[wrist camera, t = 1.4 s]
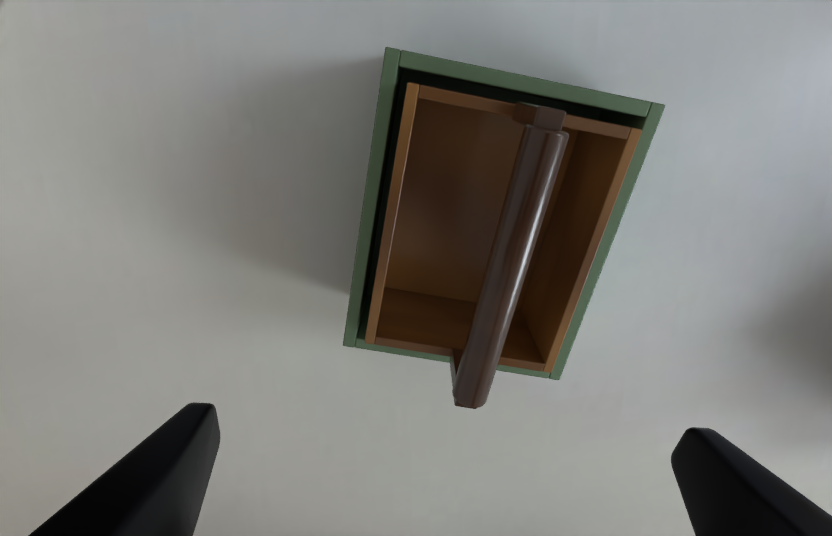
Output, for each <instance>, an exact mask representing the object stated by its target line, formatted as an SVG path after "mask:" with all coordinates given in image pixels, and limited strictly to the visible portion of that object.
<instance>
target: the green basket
mask: <svg viewBox="0 0 832 536" xmlns="http://www.w3.org/2000/svg"><path fill="white" fill-rule="evenodd" d="M408 82H415V83H420V84H425V85H430V86H435V87H440V88H445V89H449V90H454V91H459V92H464V93H469V94H474V95H479V96H484V97H489V98H494V99H499V100H504V101H508V102H513V103H517V102H518V101H520V102H525V103H530V104H535V105H540V106H545V107H549V108H554V109H559V110H564V111H566V113H567V114H572V115H577V116H582V117H587V118H592V119H596V120H601V121H605V122H610V123H614V124H619V125H623V126H628V127H632V128H637V129H641V130H642V133H641V136H640V138H639V141H638V144H637V146H636V149H635V152H634V154H633V157H632V160H631V162H630V165H629V168H628V170H627V173H626V176H625V178H624V181H623V184H622V186H621V189H620V192H619V194H618V197H617V200H616V202H615V205H614V207H613V210H612V213H611V215H610V218H609V221H608V223H607V226H606V229H605V231H604V234H603V237H602V239H601V242H600V245H599V247H598V250H597V253H596V255H595V258H594V261H593V263H592V266H591V269H590V271H589V274H588V277H587V279H586V282H585V285H584V287H583V290H582V293H581V295H580V298H579V301H578V303H577V306H576V309H575V311H574V314H573V317H572V319H571V322H570V325H569V327H568V330H567V333H566V335H565V338H564V341H563V343H562V346H561V349H560V351H559V354H558V357H557V359H556V362H555V365H554V367H553V370H552V373H547V372H543V371H535V370H529V369H523V368H516V367H510V366H504V365H497V369H496V370H499V371H505V372H511V373H517V374H524V375H530V376H536V377H542V378H549V379H554V380H559V379H560V377H561V374H562V371H563V369H564V366H565V364H566V361H567V358H568V356H569V353H570V351H571V348H572V346H573V343H574V340H575V338H576V335H577V333H578V330H579V327H580V325H581V322H582V320H583V317H584V315H585V312H586V309H587V307H588V304H589V302H590V299H591V296H592V294H593V291H594V289H595V286H596V284H597V281H598V278H599V276H600V273H601V271H602V268H603V265H604V263H605V260H606V258H607V255H608V253H609V250H610V247H611V245H612V242H613V240H614V237H615V234H616V232H617V229H618V227H619V224H620V221H621V219H622V216H623V214H624V211H625V209H626V206H627V203H628V201H629V198H630V196H631V193H632V190H633V188H634V185H635V183H636V180H637V178H638V175H639V172H640V170H641V167H642V165H643V162H644V159H645V157H646V154H647V152H648V149H649V147H650V144H651V141H652V139H653V136H654V134H655V131H656V128H657V126H658V123H659V121H660V118H661V116H662V113H663V110H664V108H665V105H664V104H659V103H654V102H649V101H644V100H639V99H635V98H630V97H625V96H620V95H615V94H611V93H606V92H601V91H596V90H591V89H587V88H582V87H577V86H572V85H567V84H563V83H558V82H553V81H548V80H543V79H539V78H534V77H529V76H524V75H519V74H514V73H510V72H505V71H500V70H495V69H490V68H486V67H481V66H476V65H471V64H466V63H462V62H457V61H452V60H447V59H442V58H438V57H433V56H428V55H423V54H418V53H414V52H409V51H404V50H402V51H400V50H399V49H394V48H390V47H386V48H385V54H384V61H383V68H382V75H381V82H380V89H379V96H378V103H377V110H376V117H375V124H374V131H373V138H372V145H371V152H370V159H369V166H368V173H367V180H366V187H365V194H364V201H363V208H362V215H361V222H360V229H359V236H358V243H357V250H356V257H355V264H354V271H353V278H352V285H351V292H350V299H349V306H348V313H347V320H346V327H345V334H344V341H343V346H348V347H356V348H361V349H368V350H374V351H380V352H386V353H393V354H399V355H405V356H411V357H418V358H424V359H430V360H436V361H443V362H449V363H450V357H448V356H442V355H436V354H429V353H423V352H417V351H411V350H405V349H398V348H392V347H386V346H380V345H375V344H367V343H365V336H366V329H367V323H368V317H369V311H370V305H371V299H372V293H373V287H374V281H375V275H376V269H377V263H378V257H379V251H380V245H381V239H382V233H383V227H384V221H385V215H386V208H387V202H388V196H389V190H390V184H391V178H392V172H393V166H394V160H395V154H396V148H397V142H398V136H399V130H400V124H401V118H402V112H403V106H404V100H405V94H406V87H407V83H408Z"/></svg>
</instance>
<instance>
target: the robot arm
mask: <svg viewBox="0 0 832 536" xmlns="http://www.w3.org/2000/svg"><path fill="white" fill-rule="evenodd" d="M219 444H220V429H219V424H218V418H217V413H216V408H215V406H214V405H213V404H210V403H190V404H188V405H186V406H185V407H184V408H182V409H181V410H180V411H179V412H178V413H176V414H175V415H174V416H173V417H171V418H170V419H169V420H168V421H167V422H165V423H164V424H163V425H162V426H161V427H159V428H158V429H157V430H156V431H155V432H153V433H152V434H151V435H150V436H148V437H147V438H146V439H145V440H144V441H142V442H141V443H140V444H139V445H138V446H136V447H135V448H134V449H133V450H132V451H130V452H129V453H128V454H127V455H125V456H124V457H123V458H122V459H121V460H119V461H118V462H117V463H116V464H115V465H113V466H112V467H111V468H110V469H109V470H107V471H106V472H105V473H104V474H102V475H101V476H100V477H99V478H98V479H96V480H95V481H94V482H93V483H92V484H90V485H89V486H88V487H87V488H85V489H84V490H83V491H82V492H81V493H79V494H78V495H77V496H76V497H75V498H73V499H72V500H71V501H70V502H69V503H67V504H66V505H65V506H64V507H62V508H61V509H60V510H59V511H58V512H56V513H55V514H54V515H53V516H52V517H50V518H49V519H48V520H47V521H46V522H44V523H43V524H42V525H41V526H39V527H38V528H37V529H36V530H35V531H33V532H32V533H31V534H30V535H29V536H193V533H194V530H195V527H196V523H197V520H198V517H199V513H200V510H201V507H202V503H203V500H204V496H205V493H206V489H207V486H208V483H209V479H210V476H211V472H212V469H213V465H214V462H215V458H216V455H217V452H218V448H219ZM671 464H672V468H673V471H674V474H675V477H676V480H677V483H678V486H679V489H680V491H681V494H682V497H683V500H684V503H685V506H686V509H687V512H688V515H689V518H690V521H691V523H692V526H693V529H694V532H695V535H696V536H832V516H831V515H829V514H828V513H827V512H825V511H824V510H823V509H821V508H820V507H818V506H817V505H816V504H814V503H813V502H812V501H810V500H809V499H808V498H806V497H805V496H803V495H802V494H801V493H799V492H798V491H797V490H795V489H794V488H792V487H791V486H790V485H788V484H787V483H786V482H784V481H783V480H782V479H780V478H779V477H777V476H776V475H775V474H773V473H772V472H771V471H769V470H768V469H766V468H765V467H764V466H762V465H761V464H760V463H758V462H757V461H756V460H754V459H753V458H751V457H750V456H749V455H747V454H746V453H745V452H743V451H742V450H740V449H739V448H738V447H736V446H735V445H734V444H732V443H731V442H730V441H728V440H727V439H725V438H724V437H723V436H721V435H720V434H719V433H717V432H716V431H714V430H712V429H709V428H695V427H692V428H689V429H687V430H686V431H685V433H684V434H683V436H682V437H681V439H680V441H679V442H678V444H677V446H676V447H675V449H674V451H673V453H672V456H671Z"/></svg>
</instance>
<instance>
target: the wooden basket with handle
mask: <svg viewBox="0 0 832 536" xmlns="http://www.w3.org/2000/svg"><path fill="white" fill-rule="evenodd" d="M641 133H642V130H641V129H637V128H632V127H628V126H623V125H619V124H614V123H610V122H605V121H601V120H596V119H592V118H587V117H582V116H577V115H572V114H567V113H566V111H564V110H559V109H554V108H549V107H545V106H540V105H535V104H530V103H525V102H520V101H518V102H517V103H513V102H508V101H504V100H499V99H494V98H489V97H484V96H479V95H474V94H469V93H464V92H459V91H454V90H449V89H445V88H440V87H435V86H430V85H425V84H420V83H415V82H408V83H407V87H406V94H405V100H404V106H403V112H402V118H401V124H400V130H399V136H398V142H397V148H396V154H395V160H394V166H393V172H392V178H391V184H390V190H389V196H388V202H387V208H386V215H385V221H384V227H383V233H382V239H381V245H380V251H379V257H378V263H377V269H376V275H375V281H374V287H373V293H372V299H371V305H370V311H369V317H368V323H367V329H366V336H365V343H367V344H375V345H380V346H386V347H392V348H398V349H405V350H411V351H417V352H423V353H429V354H436V355H442V356H448V357H450V367H451V376H452V385H453V390H452V392H453V396H454V403H455V406H460V407H466V408H473V409H476V408H478V407H481V406H483V405H484V404H485V403H486V400H487V397H488V394H489V391H490V388H491V385H492V381H493V378H494V375H495V372H496V369H497V365H504V366H510V367H516V368H523V369H529V370H535V371H543V372H547V373H552V370H553V367H554V365H555V362H556V359H557V357H558V354H559V351H560V349H561V346H562V343H563V341H564V338H565V335H566V333H567V330H568V327H569V325H570V322H571V319H572V317H573V314H574V311H575V309H576V306H577V303H578V301H579V298H580V295H581V293H582V290H583V287H584V285H585V282H586V279H587V277H588V274H589V271H590V269H591V266H592V263H593V261H594V258H595V255H596V253H597V250H598V247H599V245H600V242H601V239H602V237H603V234H604V231H605V229H606V226H607V223H608V221H609V218H610V215H611V213H612V210H613V207H614V205H615V202H616V200H617V197H618V194H619V192H620V189H621V186H622V184H623V181H624V178H625V176H626V173H627V170H628V168H629V165H630V162H631V160H632V157H633V154H634V152H635V149H636V146H637V144H638V141H639V138H640V136H641Z"/></svg>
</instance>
